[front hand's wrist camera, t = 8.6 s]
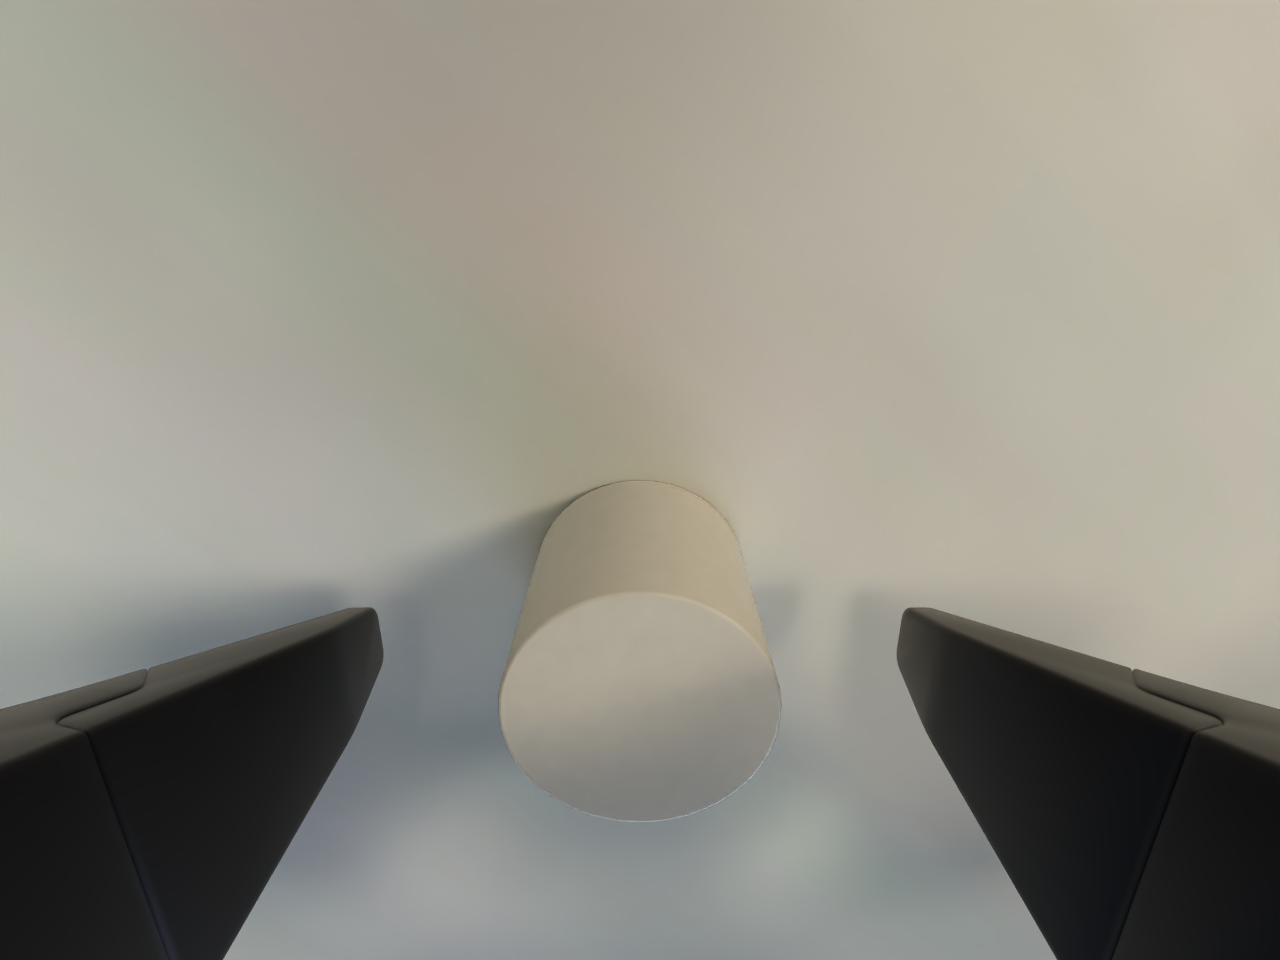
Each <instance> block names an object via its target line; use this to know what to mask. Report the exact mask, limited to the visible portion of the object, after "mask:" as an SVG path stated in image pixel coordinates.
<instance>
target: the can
mask: <svg viewBox="0 0 1280 960" xmlns="http://www.w3.org/2000/svg"><path fill="white" fill-rule="evenodd" d="M498 714H499V721H500V727H501V730H502V734H503V737H504V740H505V743H506V745H507V747H508V749H509V751H510V753H511V755H512V757H513V758H514V760H515V761H516V763H517V764H518V766H519V767H520V769H521V770H522V771H523V772H524V773H525V774H526V776H527V777H528V778H529V779H530V780H531V781H532V782H533V783H534V784H536V785H537V786H538V787H539V788H540V789H541V790H542V791H544V792H545V793H547V794H548V795H550V796H551V797H553V798H554V799H556V800H557V801H559V802H561V803H563V804H565V805H567V806H569V807H571V808H573V809H576V810H578V811H581V812H584V813H586V814H590V815H593V816H597V817H601V818H605V819H611V820H617V821H628V822H654V821H662V820H669V819H674V818H678V817H683V816H687V815H690V814H693V813H696V812H699V811H701V810H704V809H706V808H708V807H710V806H713V805H715V804H717V803H719V802H720V801H722V800H724V799H725V798H727V797H728V796H730V795H732V794H733V793H734V792H736V791H737V790H738V789H739V788H741V787H742V786H743V785H744V784H745V783H746V782H747V781H748V780H749V779H750V778H751V777H752V776H753V775H754V774H755V773H756V772H757V770H758V769H759V768H760V766H761V765H762V764H763V762H764V761H765V759H766V758H767V756H768V754H769V752H770V750H771V748H772V746H773V744H774V741H775V738H776V735H777V733H778V729H779V724H780V719H781V694H780V686H779V683H778V679H777V676H776V673H775V669H774V666H773V662H772V659H771V655H770V652H769V648H768V645H767V642H766V638H765V635H764V631H763V628H762V624H761V621H760V618H759V614H758V611H757V607H756V604H755V600H754V597H753V593H752V590H751V587H750V583H749V580H748V576H747V573H746V569H745V566H744V563H743V559H742V556H741V552H740V549H739V545H738V542H737V540H736V538H735V536H734V534H733V531H732V530H731V528H730V527H729V525H728V524H727V522H726V521H725V520H724V518H723V517H722V516H721V515H720V514H719V513H718V512H717V511H716V510H715V509H714V508H713V507H712V506H711V505H710V504H708V503H707V502H706V501H704V500H703V499H701V498H700V497H698V496H697V495H695V494H693V493H691V492H689V491H687V490H685V489H682V488H679V487H676V486H673V485H671V484H666V483H661V482H656V481H644V480H640V481H625V482H619V483H613V484H610V485H606V486H603V487H600V488H598V489H595V490H593V491H591V492H588V493H587V494H585V495H583V496H582V497H580V498H578V499H577V500H575V501H574V502H573V503H572V504H570V505H569V506H568V507H566V508H565V509H564V510H563V512H562V513H561V514H560V515H559V516H558V517H557V518H556V519H555V521H554V522H553V523H552V525H551V526H550V528H549V529H548V531H547V533H546V535H545V537H544V539H543V542H542V545H541V548H540V551H539V554H538V557H537V561H536V564H535V568H534V571H533V574H532V578H531V581H530V585H529V588H528V591H527V595H526V598H525V602H524V605H523V608H522V612H521V615H520V619H519V622H518V625H517V629H516V632H515V636H514V639H513V642H512V646H511V649H510V653H509V656H508V659H507V663H506V666H505V670H504V673H503V676H502V680H501V685H500V690H499V696H498Z"/></svg>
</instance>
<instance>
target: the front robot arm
mask: <svg viewBox="0 0 1280 960" xmlns="http://www.w3.org/2000/svg"><path fill="white" fill-rule="evenodd" d="M382 662H383V646H382V639H381V633H380V627H379V620H378V615H377V613H376V611H375V610H374V609H373V608H348V609H344V610H341V611H338V612H334V613H331V614H328V615H325V616H321V617H318V618H315V619H311V620H308V621H305V622H301V623H298V624H295V625H291V626H288V627H285V628H281V629H278V630H275V631H271V632H268V633H265V634H261V635H258V636H255V637H251V638H248V639H245V640H241V641H238V642H235V643H231V644H228V645H225V646H221V647H218V648H215V649H211V650H208V651H205V652H202V653H198V654H195V655H192V656H188V657H185V658H182V659H178V660H175V661H172V662H168V663H165V664H162V665H158V666H155V667H152V668H150V669H149V670H148V671H147V670H146V669H142V670H139V671H135V672H132V673H129V674H125V675H122V676H119V677H115V678H112V679H108V680H105V681H101V682H98V683H94V684H91V685H87V686H84V687H81V688H77V689H73V690H70V691H66V692H63V693H59V694H55V695H52V696H48V697H44V698H41V699H37V700H33V701H30V702H26V703H22V704H19V705H15V706H11V707H7V708H3V709H0V960H223V959H224V957H225V955H226V953H227V952H228V950H229V948H230V946H231V945H232V943H233V941H234V940H235V938H236V936H237V934H238V933H239V931H240V929H241V927H242V926H243V924H244V922H245V920H246V919H247V917H248V915H249V914H250V912H251V910H252V908H253V907H254V905H255V903H256V901H257V900H258V898H259V896H260V894H261V893H262V891H263V889H264V888H265V886H266V884H267V882H268V881H269V879H270V877H271V875H272V874H273V872H274V870H275V868H276V867H277V865H278V863H279V862H280V860H281V858H282V856H283V855H284V853H285V851H286V849H287V848H288V846H289V844H290V842H291V841H292V839H293V837H294V836H295V834H296V832H297V830H298V829H299V827H300V825H301V823H302V822H303V820H304V818H305V816H306V815H307V813H308V811H309V810H310V808H311V806H312V804H313V803H314V801H315V799H316V797H317V796H318V794H319V792H320V790H321V789H322V787H323V785H324V784H325V782H326V780H327V778H328V777H329V775H330V773H331V771H332V770H333V768H334V766H335V764H336V763H337V761H338V759H339V758H340V756H341V754H342V752H343V751H344V749H345V747H346V745H347V744H348V742H349V740H350V738H351V736H352V734H353V733H354V730H355V728H356V726H357V724H358V722H359V719H360V717H361V715H362V712H363V710H364V707H365V705H366V703H367V700H368V698H369V695H370V693H371V691H372V688H373V686H374V683H375V681H376V679H377V676H378V674H379V671H380V669H381V666H382ZM897 662H898V666H899V669H900V671H901V674H902V676H903V678H904V681H905V683H906V686H907V688H908V690H909V693H910V695H911V698H912V700H913V702H914V705H915V707H916V710H917V712H918V714H919V717H920V719H921V722H922V724H923V726H924V728H925V730H926V732H927V734H928V736H929V738H930V740H931V742H932V744H933V745H934V747H935V749H936V750H937V752H938V754H939V756H940V757H941V759H942V761H943V763H944V764H945V766H946V768H947V770H948V771H949V773H950V775H951V776H952V778H953V780H954V782H955V783H956V785H957V787H958V789H959V790H960V792H961V794H962V796H963V797H964V799H965V801H966V802H967V804H968V806H969V808H970V809H971V811H972V813H973V815H974V816H975V818H976V820H977V822H978V823H979V825H980V827H981V828H982V830H983V832H984V834H985V835H986V837H987V839H988V841H989V842H990V844H991V846H992V848H993V849H994V851H995V853H996V854H997V856H998V858H999V860H1000V861H1001V863H1002V865H1003V867H1004V868H1005V870H1006V872H1007V874H1008V875H1009V877H1010V879H1011V880H1012V882H1013V884H1014V886H1015V887H1016V889H1017V891H1018V893H1019V894H1020V896H1021V898H1022V900H1023V901H1024V903H1025V905H1026V906H1027V908H1028V910H1029V912H1030V913H1031V915H1032V917H1033V919H1034V920H1035V922H1036V924H1037V926H1038V927H1039V929H1040V931H1041V932H1042V934H1043V936H1044V938H1045V939H1046V941H1047V943H1048V945H1049V946H1050V948H1051V950H1052V952H1053V953H1054V955H1055V957H1056V958H1057V960H1280V709H1277V708H1273V707H1269V706H1265V705H1262V704H1258V703H1254V702H1250V701H1247V700H1243V699H1239V698H1236V697H1232V696H1228V695H1225V694H1221V693H1218V692H1214V691H1210V690H1207V689H1203V688H1200V687H1196V686H1193V685H1189V684H1186V683H1182V682H1179V681H1175V680H1172V679H1168V678H1165V677H1162V676H1158V675H1155V674H1151V673H1148V672H1145V671H1141V670H1138V669H1134V670H1133V671H1132V670H1131V669H1130V668H1128V667H1125V666H1122V665H1118V664H1115V663H1112V662H1108V661H1105V660H1102V659H1098V658H1095V657H1092V656H1089V655H1085V654H1082V653H1079V652H1075V651H1072V650H1069V649H1065V648H1062V647H1059V646H1055V645H1052V644H1049V643H1045V642H1042V641H1039V640H1035V639H1032V638H1029V637H1025V636H1022V635H1019V634H1015V633H1012V632H1009V631H1005V630H1002V629H999V628H995V627H992V626H989V625H985V624H982V623H979V622H975V621H972V620H969V619H966V618H962V617H959V616H956V615H952V614H949V613H946V612H942V611H939V610H936V609H932V608H907V609H906V610H905V611H904V613H903V615H902V621H901V627H900V633H899V640H898V646H897Z"/></svg>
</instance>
